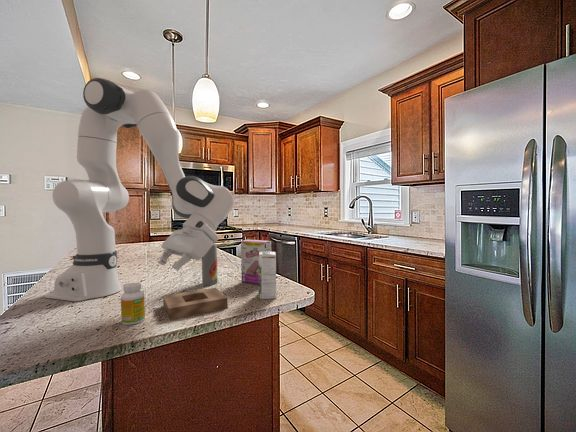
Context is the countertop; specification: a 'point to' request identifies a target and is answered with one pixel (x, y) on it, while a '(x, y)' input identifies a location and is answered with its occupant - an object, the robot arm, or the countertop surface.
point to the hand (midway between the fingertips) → (167, 266)
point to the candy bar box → (252, 258)
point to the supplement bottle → (132, 304)
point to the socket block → (194, 302)
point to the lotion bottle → (210, 266)
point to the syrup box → (267, 275)
